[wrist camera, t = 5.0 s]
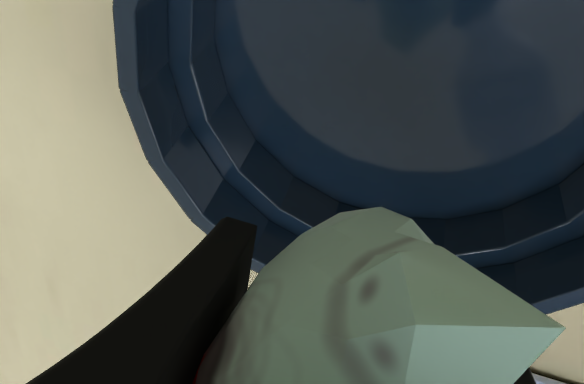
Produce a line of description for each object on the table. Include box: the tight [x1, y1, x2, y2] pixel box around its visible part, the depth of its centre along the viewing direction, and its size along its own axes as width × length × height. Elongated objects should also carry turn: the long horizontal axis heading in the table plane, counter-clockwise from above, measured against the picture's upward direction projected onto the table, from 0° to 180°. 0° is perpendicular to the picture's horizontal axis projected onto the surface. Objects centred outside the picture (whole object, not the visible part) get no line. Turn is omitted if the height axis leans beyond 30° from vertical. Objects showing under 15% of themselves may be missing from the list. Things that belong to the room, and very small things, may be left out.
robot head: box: [192, 207, 566, 384], centre depth 9 cm, size 8×4×7 cm, turn 162°
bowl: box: [113, 0, 584, 315], centre depth 14 cm, size 15×15×4 cm
